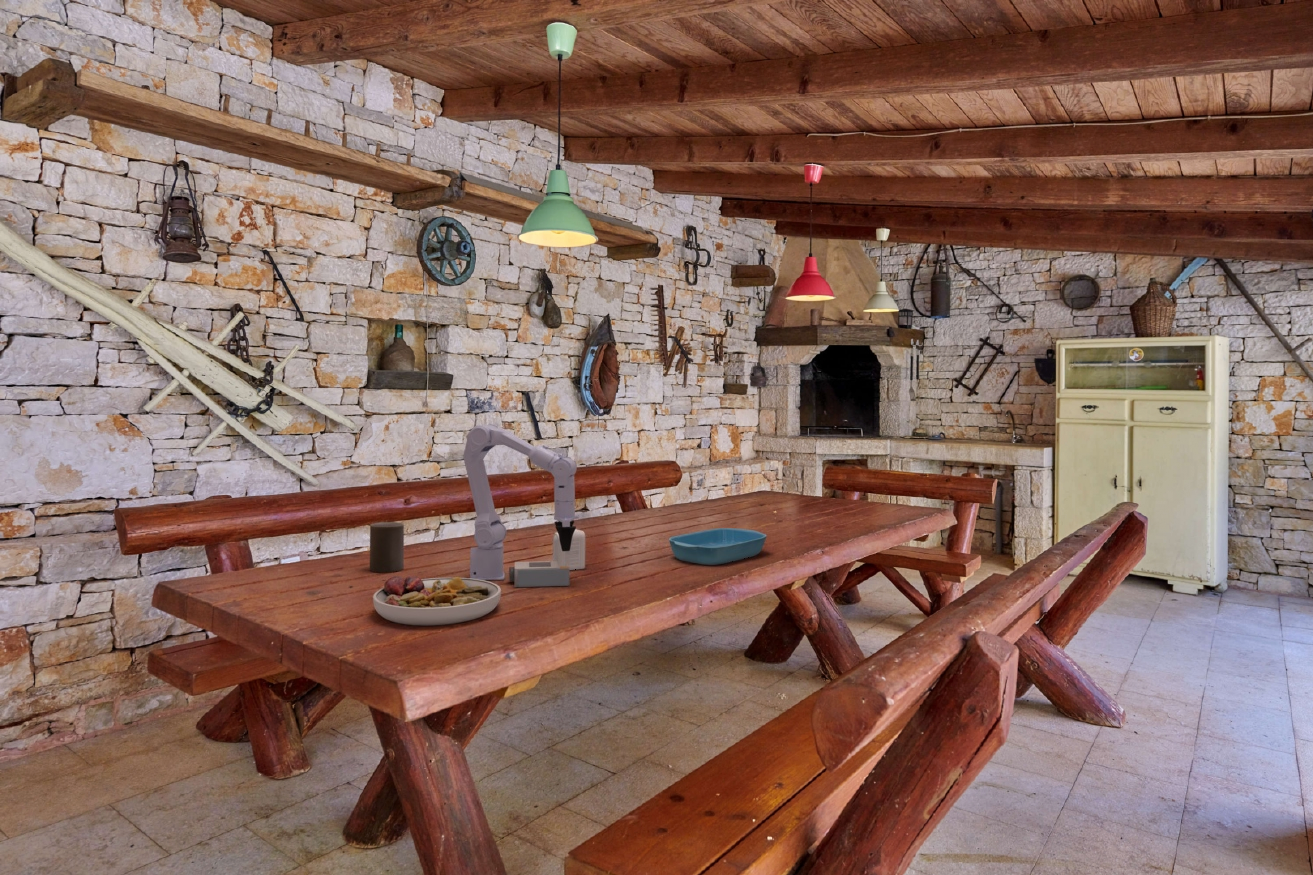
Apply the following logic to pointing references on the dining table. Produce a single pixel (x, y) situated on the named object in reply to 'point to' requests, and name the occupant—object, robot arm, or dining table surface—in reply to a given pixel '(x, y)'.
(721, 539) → the casserole dish
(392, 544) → the pillar candle
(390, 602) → the bowl
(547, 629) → the dining table surface
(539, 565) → the camera housing
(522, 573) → the grey and orange bar
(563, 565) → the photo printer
